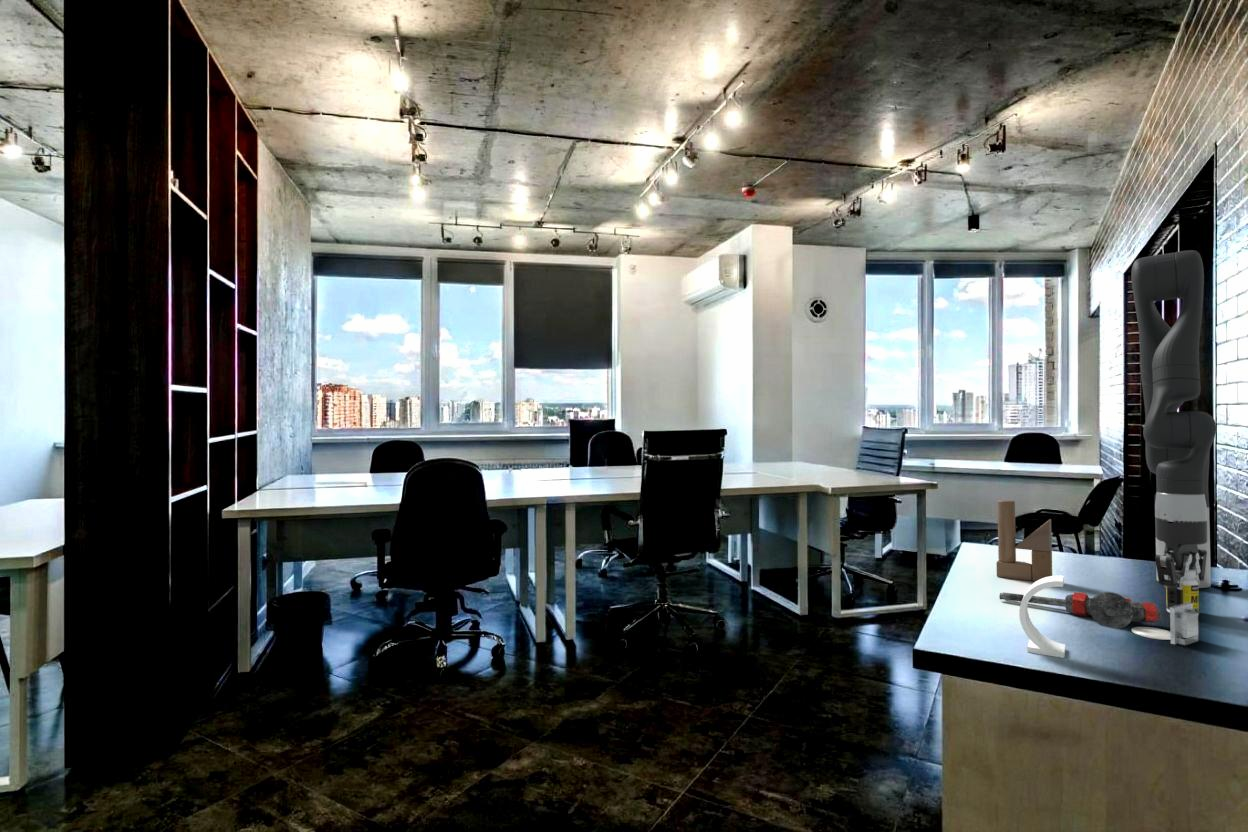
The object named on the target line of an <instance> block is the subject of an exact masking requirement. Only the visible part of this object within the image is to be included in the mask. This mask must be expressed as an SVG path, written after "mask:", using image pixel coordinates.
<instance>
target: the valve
mask: <svg viewBox="0 0 1248 832" xmlns="http://www.w3.org/2000/svg"><path fill="white" fill-rule="evenodd" d="M1023 596H1024V594H1022V593H1021V594H1019V593H1012V592H1011V593H1010V592H1005V591H1004V592H1000V593H999V596H998V597H999V600H1005V601H1013V602H1020V603H1021V602H1022V599H1023ZM1029 603H1030V604H1038V605H1048V606H1054V607H1055V606H1056V607H1062V608H1063V607H1064V608H1065V610H1066V612H1067V613H1070V614H1073V615H1075V616H1080V617H1086V618H1088V617H1089V616H1091V617H1092V618H1093V620H1094V621H1095V622H1096V623H1097V624H1099V625H1101V626H1103V627H1104V626H1106V627H1111V628H1116V629H1122V628H1125V627H1127V626H1128V625H1130V624H1131V622H1142V623H1143V622H1144V623H1155V622H1156V623H1157V622H1159V621H1161V620H1162V618H1163V611H1162V609H1161V608H1160V607H1159V606H1158V605H1157V604H1155V603H1154V602H1153V603H1152V602H1151V603H1150V602H1141V603H1140V601H1132V600H1131V598H1129V597H1124V596H1123V595H1121V594H1118V593H1116V592H1110V591H1105V592H1101V593H1097V594H1096V595H1094V596H1093V597H1089V596H1088V594H1087V593H1085V592H1084V593H1083V592H1075V591H1074V592H1073V594H1067V595H1066V596H1065V599H1062V598H1055V597H1054V598H1053V597H1048V596H1047V597H1046V596H1037V595H1036V596H1035V595H1033V596H1032V597H1031V599H1030V600H1029V602H1028V604H1029Z"/></svg>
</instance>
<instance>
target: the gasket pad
mask: <svg viewBox="0 0 1248 832" xmlns="http://www.w3.org/2000/svg"><path fill="white" fill-rule="evenodd" d="M1131 632H1132V633H1133V634H1135V635H1138V636H1140V637H1145V638H1148V639H1153V640H1161V641H1162V640H1163V641H1164V640H1165V641H1167V640H1168V641H1169V640H1170V641H1171V636H1170V630H1166V629H1161V628H1158V627H1150V626H1135V627H1134V626H1133V627H1132V628H1131Z"/></svg>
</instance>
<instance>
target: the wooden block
mask: <svg viewBox="0 0 1248 832" xmlns="http://www.w3.org/2000/svg"><path fill="white" fill-rule="evenodd" d="M1052 537H1053V536H1052V519H1051V518H1050V519H1048V520H1047V521H1046V522H1044V523H1043V524H1042V525H1040V527H1038V528H1037V529H1035V530H1034V531H1033V532H1032V533H1030V534H1029V535H1028V536H1026V538H1023V540H1022V541H1020V542H1019V543H1018V544H1016V502H1015V500H1013V499H999V500H997V544H998V545H997V547H998V552H997V553H998V560H997V561H996V564H995V565H996V577H998V578H1005V579H1006V578H1007V579H1012V580H1013V579H1014V580H1020V581H1021V580H1022V581H1030V582H1033V583H1034V582H1036V581H1038V580H1040V579H1042V578H1045V577H1049V576H1053V547H1052V546H1053V545H1052V544H1053V543H1052V542H1053V541H1052ZM1016 549H1017V550H1026V551H1027V550H1028V551H1031V563H1029V562H1026V561H1019V560H1017V554H1016V553H1017V550H1016Z"/></svg>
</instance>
